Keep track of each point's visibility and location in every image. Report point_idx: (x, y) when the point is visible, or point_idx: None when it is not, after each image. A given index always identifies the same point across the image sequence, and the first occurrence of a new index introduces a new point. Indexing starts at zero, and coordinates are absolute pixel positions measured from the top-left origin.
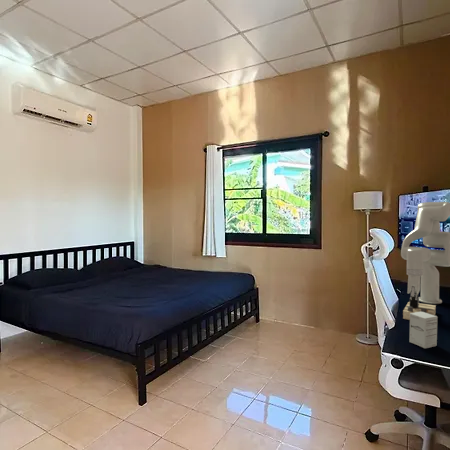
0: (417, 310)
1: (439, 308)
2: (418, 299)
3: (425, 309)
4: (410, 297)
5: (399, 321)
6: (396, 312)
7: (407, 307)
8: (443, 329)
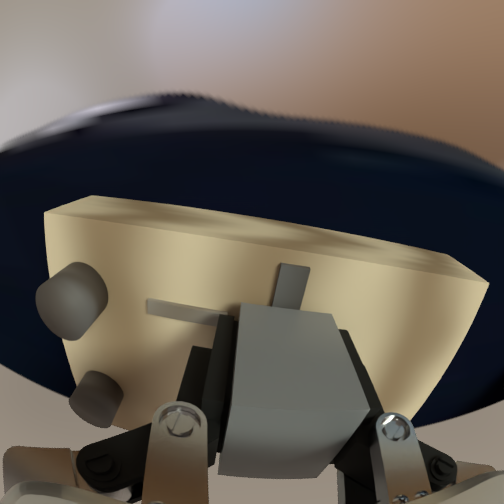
0: (149, 359)
1: (449, 405)
2: (241, 473)
3: (85, 418)
4: (332, 414)
5: (26, 175)
6: (291, 126)
7: (231, 269)
8: (57, 389)
